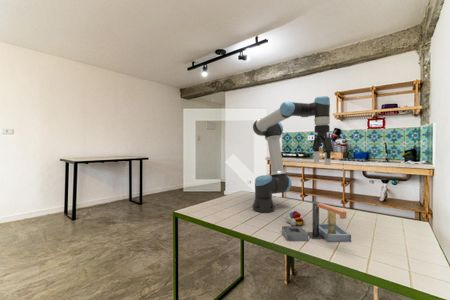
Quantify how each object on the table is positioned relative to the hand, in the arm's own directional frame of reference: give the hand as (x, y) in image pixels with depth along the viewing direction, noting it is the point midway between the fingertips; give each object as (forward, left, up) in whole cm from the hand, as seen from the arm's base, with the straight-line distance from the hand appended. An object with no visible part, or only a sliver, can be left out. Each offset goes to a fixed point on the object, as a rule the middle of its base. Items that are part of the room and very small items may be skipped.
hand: (321, 163), depth 117 cm
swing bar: (+20, -6, -21) cm, 29 cm away
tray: (+12, 0, -35) cm, 37 cm away
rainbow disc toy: (-4, -13, -35) cm, 38 cm away
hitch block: (+13, -19, -35) cm, 42 cm away
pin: (+12, 0, -34) cm, 36 cm away
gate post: (+13, -8, -35) cm, 38 cm away
